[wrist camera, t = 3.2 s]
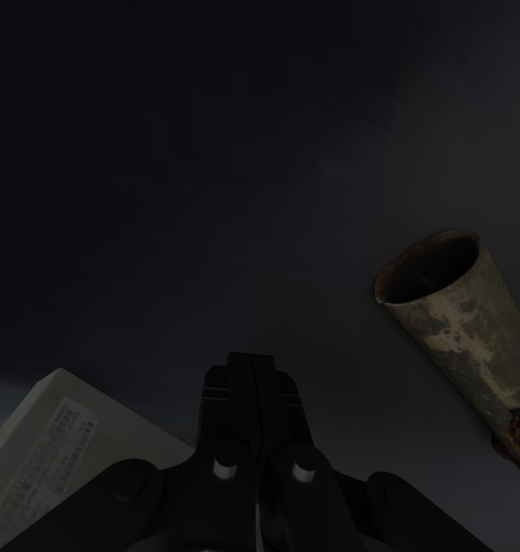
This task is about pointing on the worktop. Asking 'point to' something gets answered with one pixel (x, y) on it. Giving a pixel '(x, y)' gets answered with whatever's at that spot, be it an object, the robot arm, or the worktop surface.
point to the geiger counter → (70, 447)
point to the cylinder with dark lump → (462, 324)
